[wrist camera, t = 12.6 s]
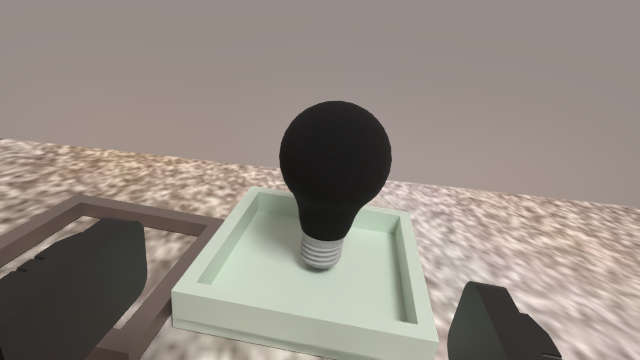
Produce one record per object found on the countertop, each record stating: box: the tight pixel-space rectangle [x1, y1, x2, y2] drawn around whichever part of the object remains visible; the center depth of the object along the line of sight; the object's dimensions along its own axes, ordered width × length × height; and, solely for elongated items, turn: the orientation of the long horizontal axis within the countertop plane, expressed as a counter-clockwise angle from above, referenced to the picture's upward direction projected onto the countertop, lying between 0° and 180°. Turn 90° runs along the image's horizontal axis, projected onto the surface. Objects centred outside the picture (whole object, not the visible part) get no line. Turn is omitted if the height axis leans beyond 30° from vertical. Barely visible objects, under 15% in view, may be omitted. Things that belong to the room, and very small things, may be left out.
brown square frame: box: [0, 194, 225, 360], centre depth 20 cm, size 11×11×1 cm
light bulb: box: [279, 101, 392, 269], centre depth 19 cm, size 6×6×10 cm
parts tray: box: [171, 186, 439, 360], centre depth 21 cm, size 12×12×2 cm
